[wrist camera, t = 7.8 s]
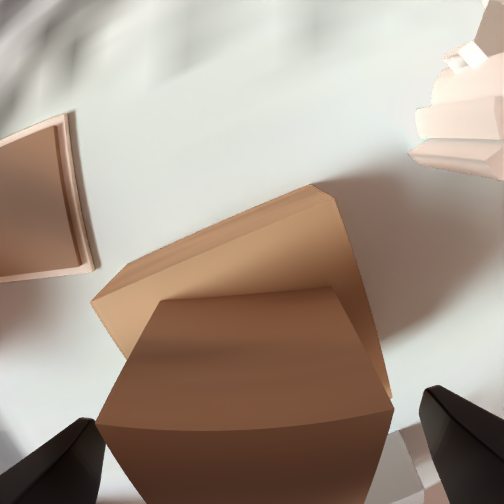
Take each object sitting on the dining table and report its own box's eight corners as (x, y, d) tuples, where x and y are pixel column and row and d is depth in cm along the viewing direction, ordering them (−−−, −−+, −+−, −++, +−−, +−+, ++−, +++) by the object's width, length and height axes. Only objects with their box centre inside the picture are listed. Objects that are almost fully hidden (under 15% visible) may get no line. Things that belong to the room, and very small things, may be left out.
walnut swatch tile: (95, 269, 13) (89, 274, 12) (-3, 281, 13) (-10, 285, 12) (67, 114, 11) (59, 113, 10) (-29, 156, 11) (-37, 157, 10)
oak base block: (364, 343, 14) (392, 397, 11) (213, 396, 15) (204, 456, 12) (308, 183, 12) (334, 198, 8) (130, 261, 13) (89, 302, 9)
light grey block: (402, 464, 18) (422, 515, 13) (337, 487, 18) (349, 541, 13) (398, 429, 16) (424, 489, 11) (322, 456, 17) (335, 521, 12)
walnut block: (327, 408, 11) (355, 524, 6) (191, 418, 11) (170, 532, 6) (331, 285, 9) (394, 408, 4) (160, 300, 9) (94, 423, 4)
